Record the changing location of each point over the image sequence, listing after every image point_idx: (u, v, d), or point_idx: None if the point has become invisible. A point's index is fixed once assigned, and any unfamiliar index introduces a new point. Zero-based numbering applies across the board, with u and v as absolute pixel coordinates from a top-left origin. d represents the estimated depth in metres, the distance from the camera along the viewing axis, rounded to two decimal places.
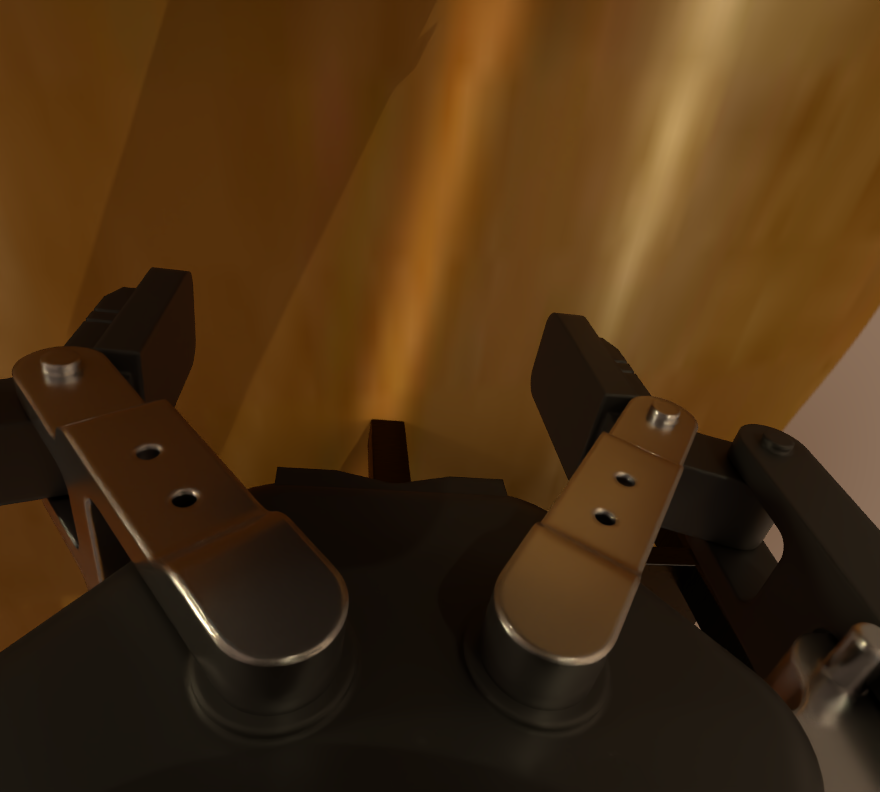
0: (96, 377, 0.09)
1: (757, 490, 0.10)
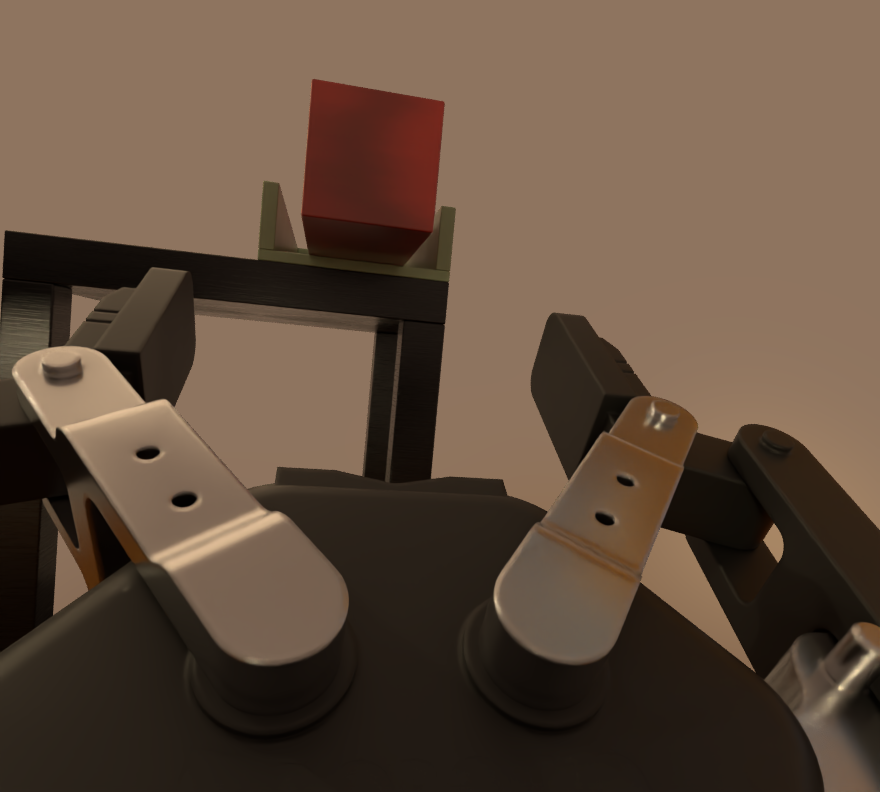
0: (96, 377, 0.09)
1: (757, 490, 0.10)
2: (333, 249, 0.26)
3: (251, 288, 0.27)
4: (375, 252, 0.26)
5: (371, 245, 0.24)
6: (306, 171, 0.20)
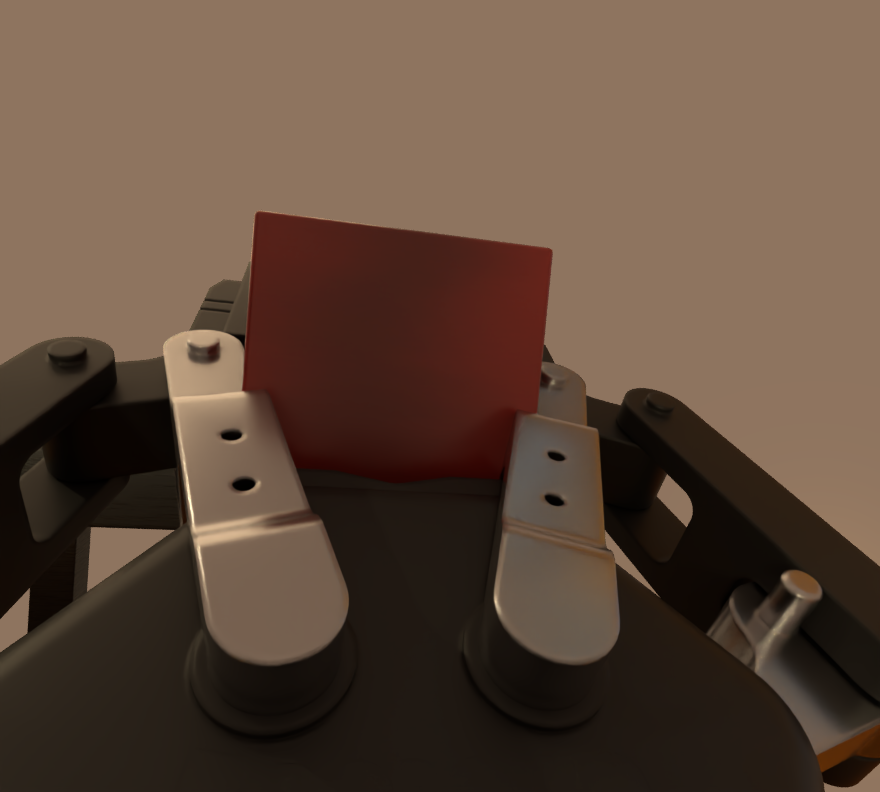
0: (235, 357, 0.10)
1: (656, 455, 0.10)
2: None
3: None
4: None
5: None
6: None
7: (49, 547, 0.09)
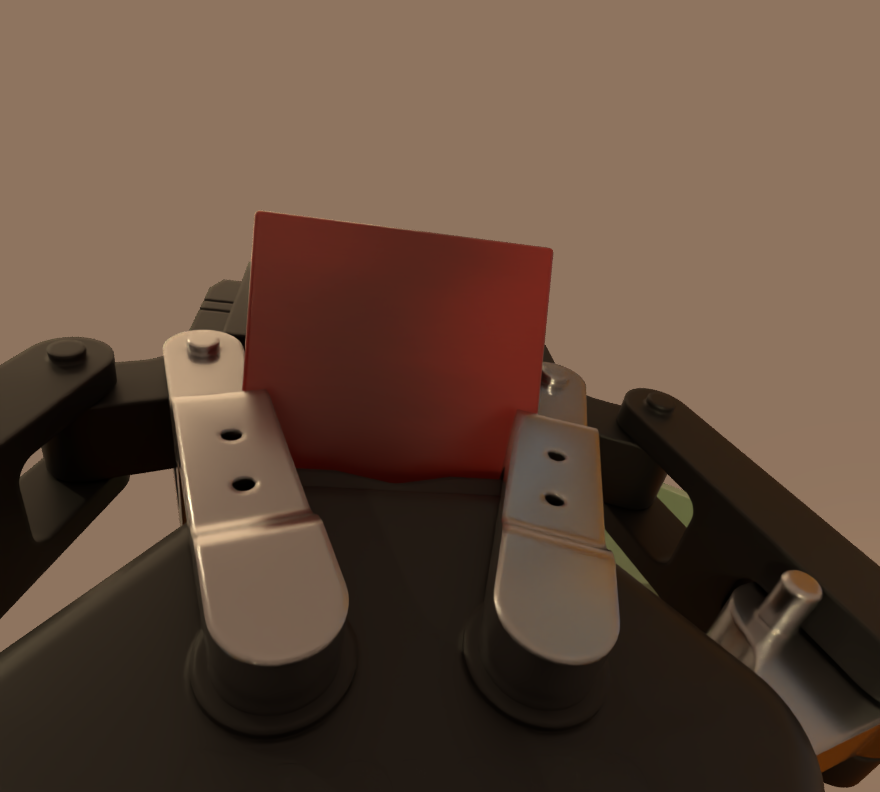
0: (235, 357, 0.10)
1: (656, 455, 0.10)
2: None
3: None
4: None
5: None
6: None
7: (49, 547, 0.09)
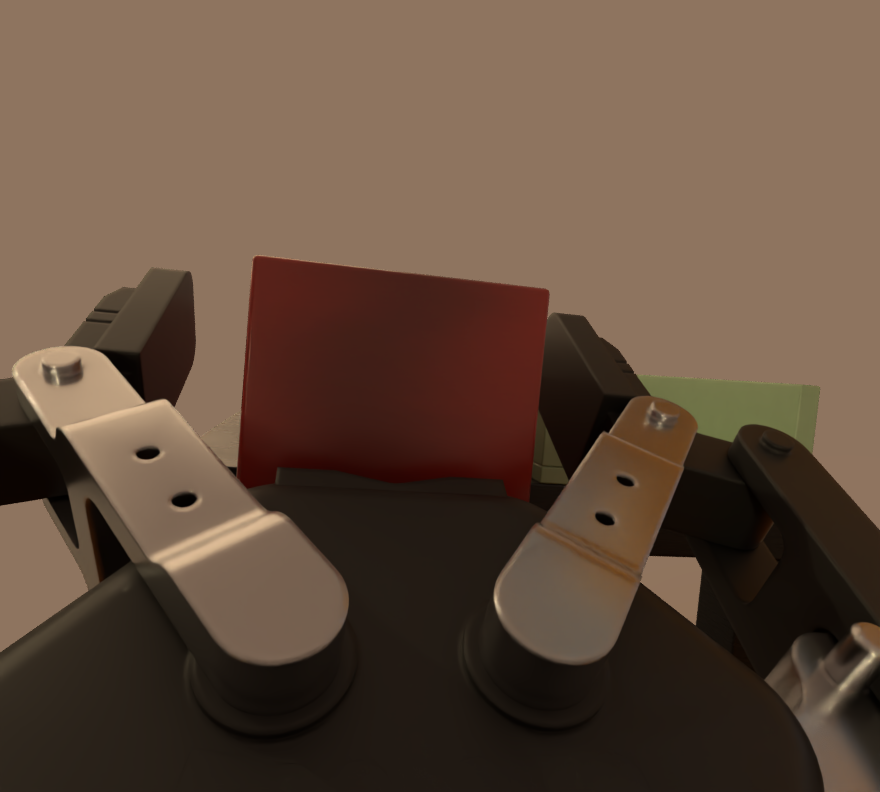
0: (97, 377, 0.09)
1: (757, 490, 0.10)
2: None
3: None
4: None
5: None
6: (241, 465, 0.09)
7: None
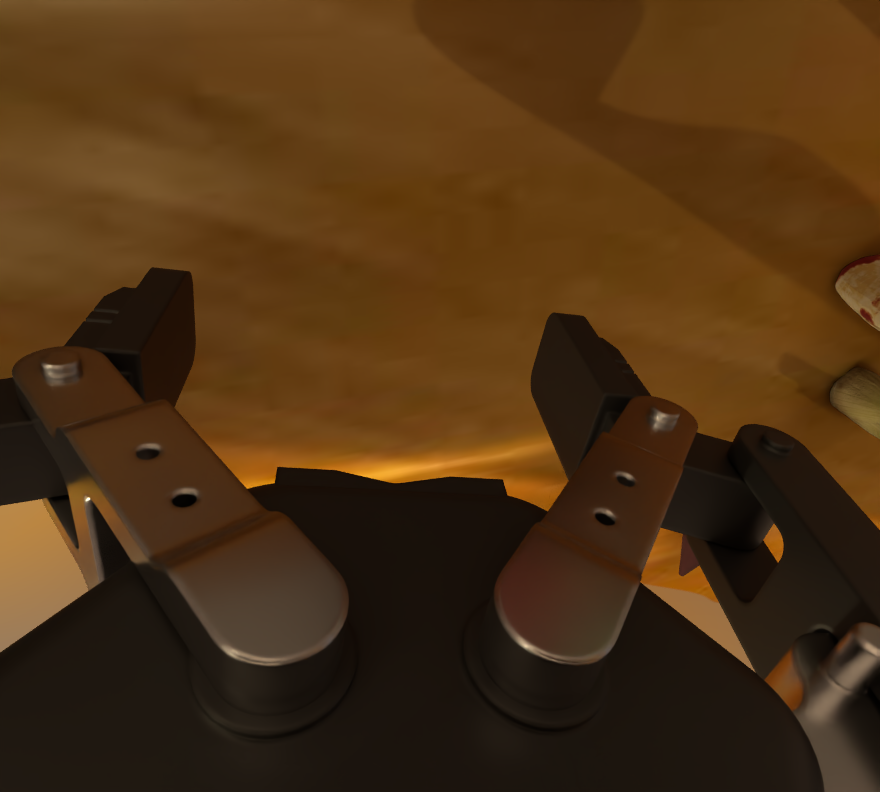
0: (96, 377, 0.09)
1: (757, 490, 0.10)
2: None
3: None
4: None
5: None
6: None
7: None
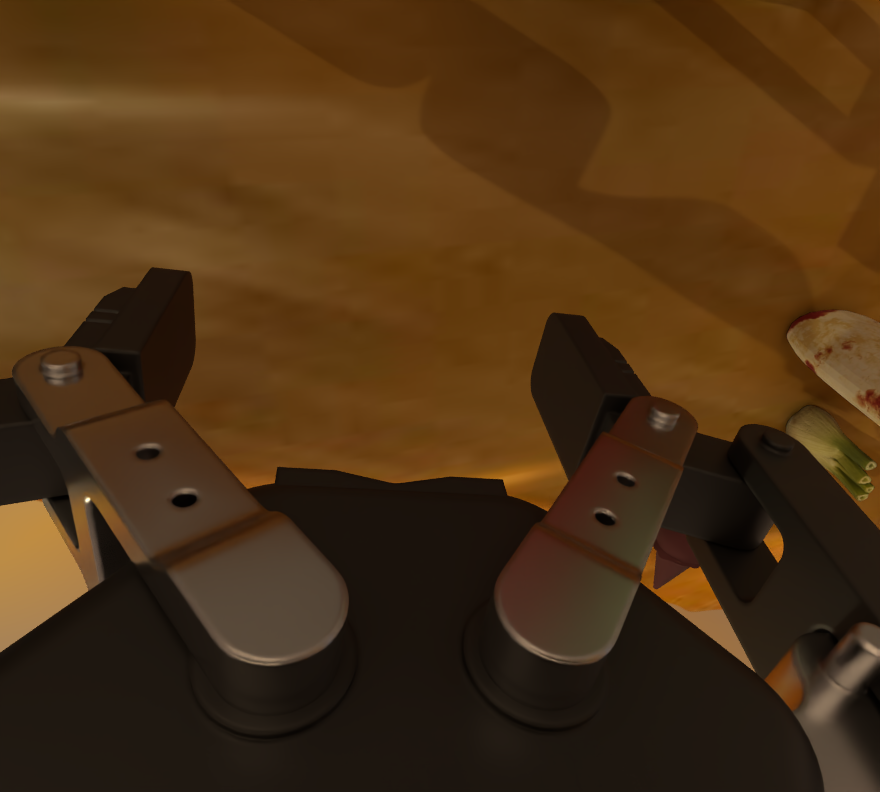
0: (96, 377, 0.09)
1: (757, 490, 0.10)
2: None
3: None
4: None
5: None
6: None
7: None
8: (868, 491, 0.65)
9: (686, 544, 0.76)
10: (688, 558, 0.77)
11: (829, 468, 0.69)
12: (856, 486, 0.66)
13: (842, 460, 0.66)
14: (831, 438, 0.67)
